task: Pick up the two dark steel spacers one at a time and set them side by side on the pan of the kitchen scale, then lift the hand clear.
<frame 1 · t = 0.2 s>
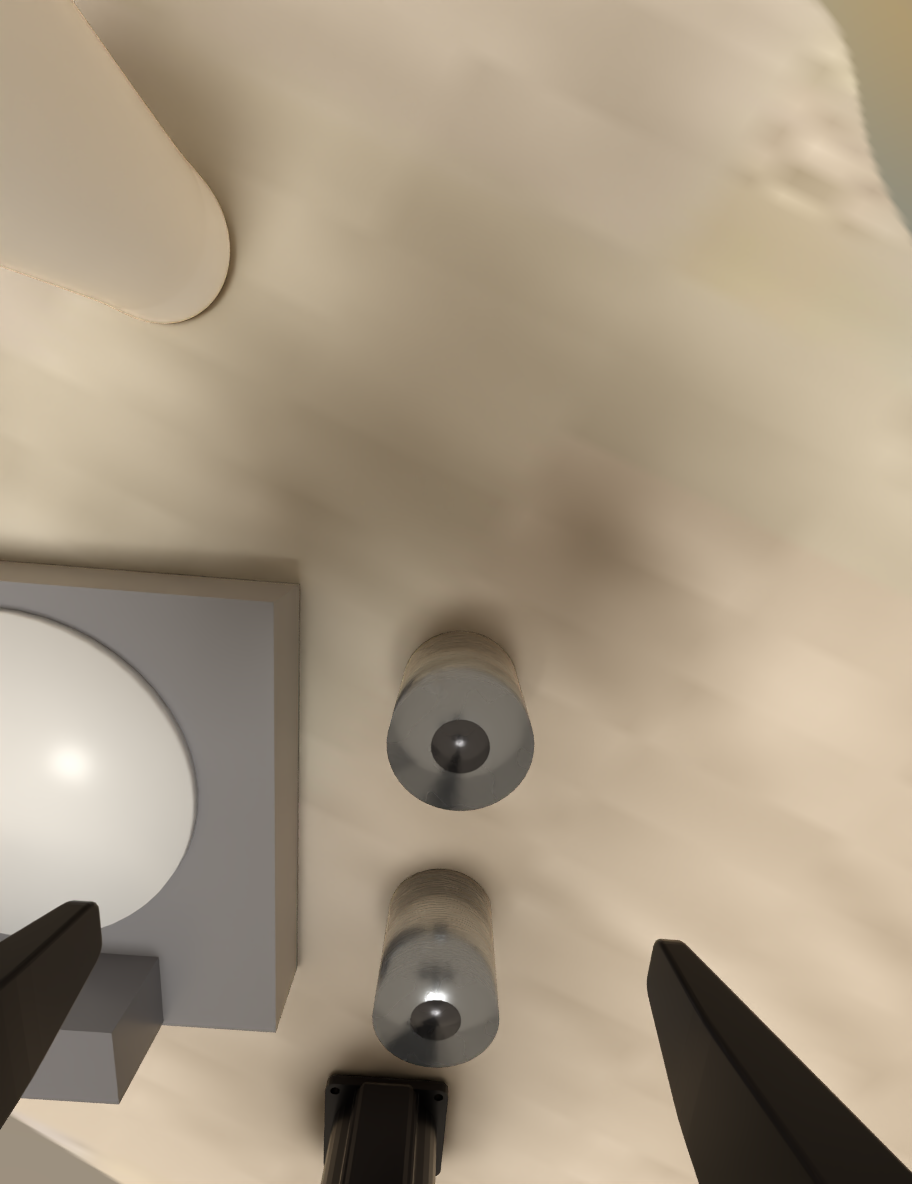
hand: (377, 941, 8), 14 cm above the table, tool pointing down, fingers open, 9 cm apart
spacer b: (440, 911, 25), on the table
spacer a: (459, 685, 22), on the table
drinking glass: (165, 249, 18), on the table
kitchen scale: (79, 779, 23), on the table
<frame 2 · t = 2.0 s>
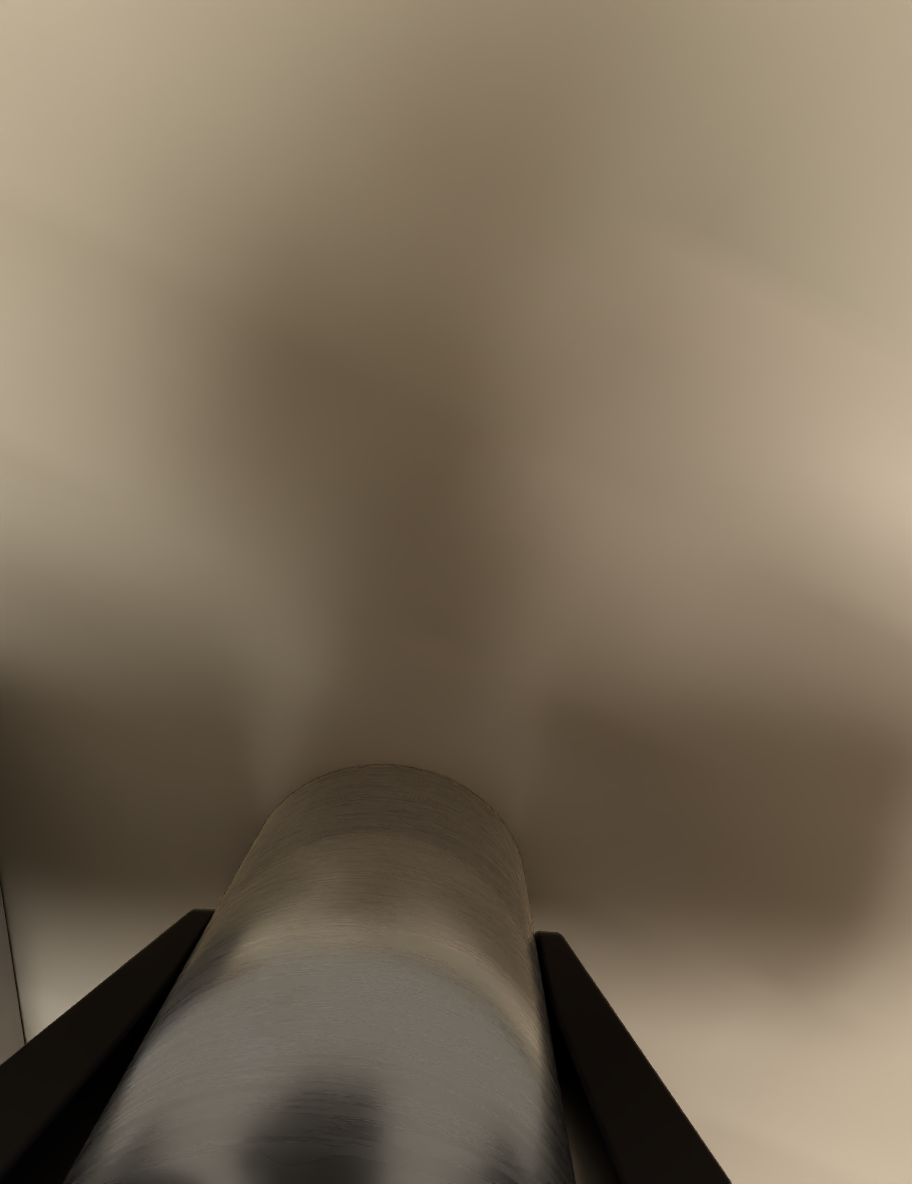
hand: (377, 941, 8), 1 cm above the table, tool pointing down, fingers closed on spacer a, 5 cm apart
spacer a: (386, 888, 9), on the table, touching gripper
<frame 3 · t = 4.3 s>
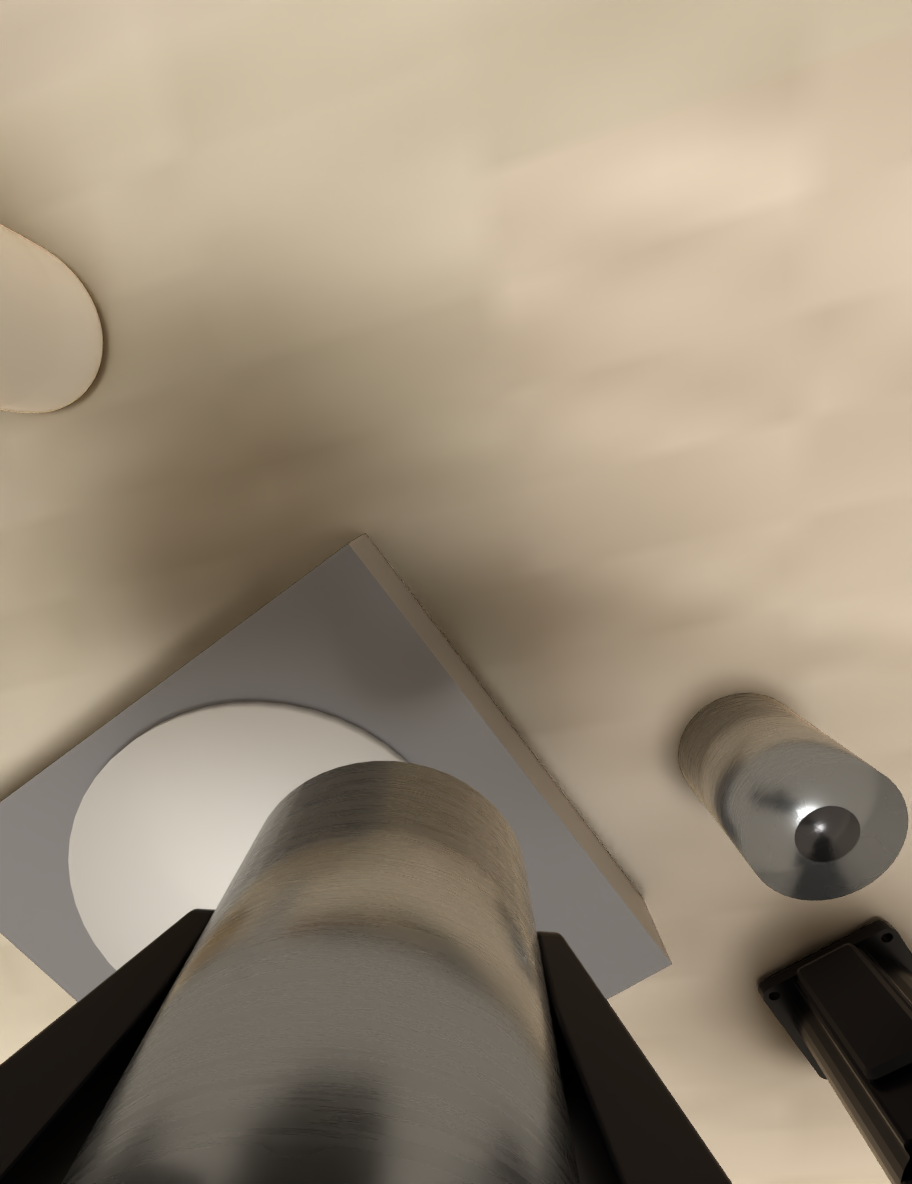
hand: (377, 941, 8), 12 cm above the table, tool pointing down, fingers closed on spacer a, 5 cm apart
spacer b: (739, 749, 21), on the table
spacer a: (388, 884, 9), point 11 cm above the table, touching gripper
drinking glass: (39, 335, 17), on the table
kitchen scale: (326, 855, 22), on the table
when the fingers open (6 cm above the table, at t = 6.5 s): spacer a drops 1 cm, resting on kitchen scale.
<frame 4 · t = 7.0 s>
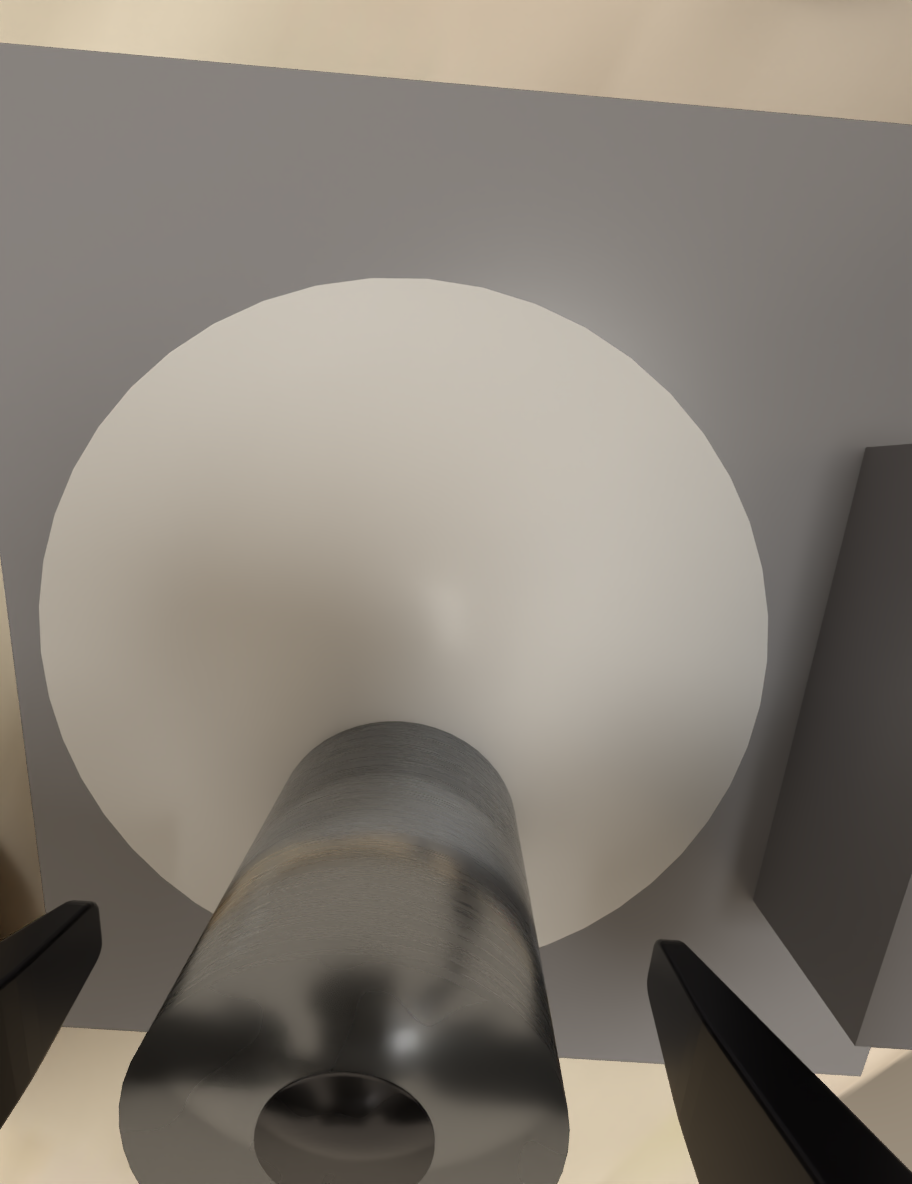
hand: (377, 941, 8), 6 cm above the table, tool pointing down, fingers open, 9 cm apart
spacer a: (396, 830, 10), point 4 cm above the table, touching kitchen scale
kitchen scale: (493, 632, 13), on the table
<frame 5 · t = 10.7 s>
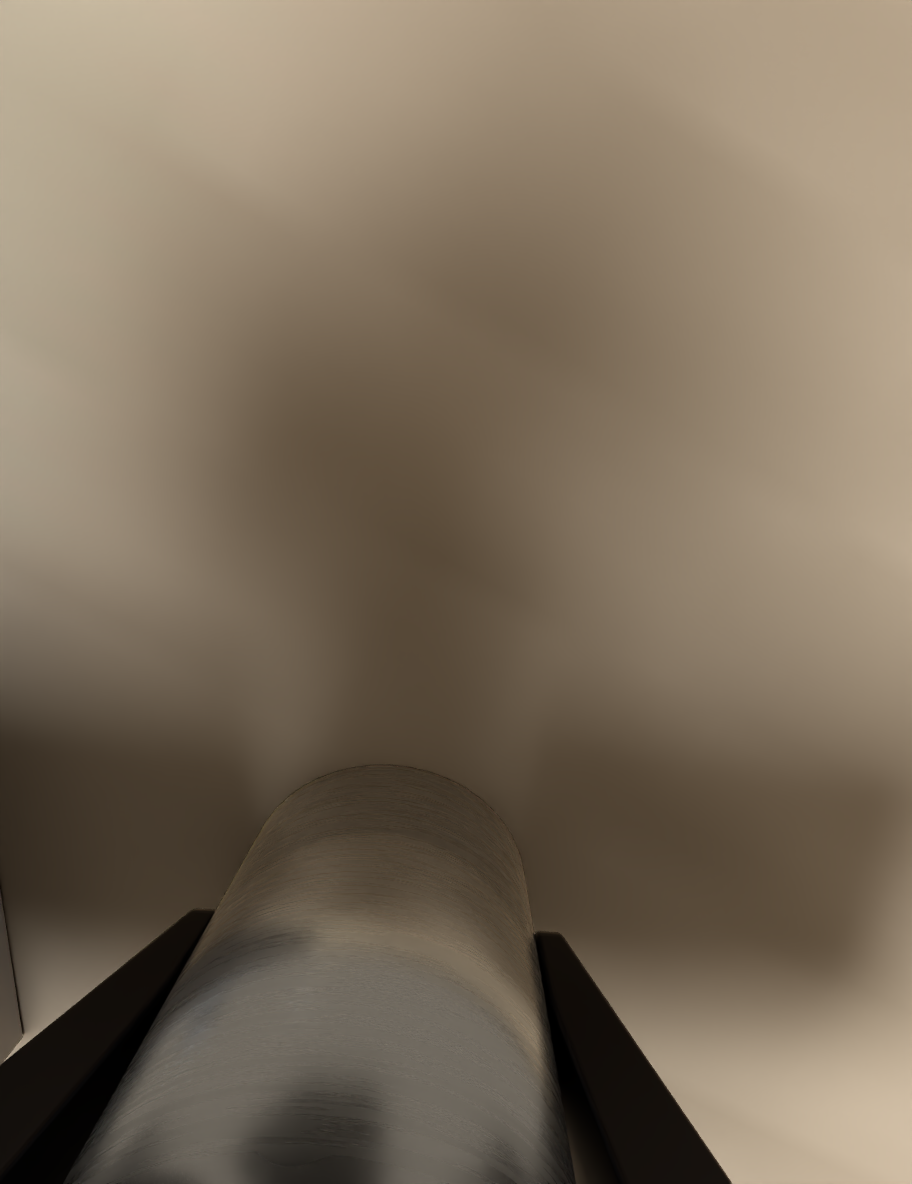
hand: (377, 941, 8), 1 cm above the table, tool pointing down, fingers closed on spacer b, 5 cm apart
spacer b: (386, 888, 9), on the table, touching gripper
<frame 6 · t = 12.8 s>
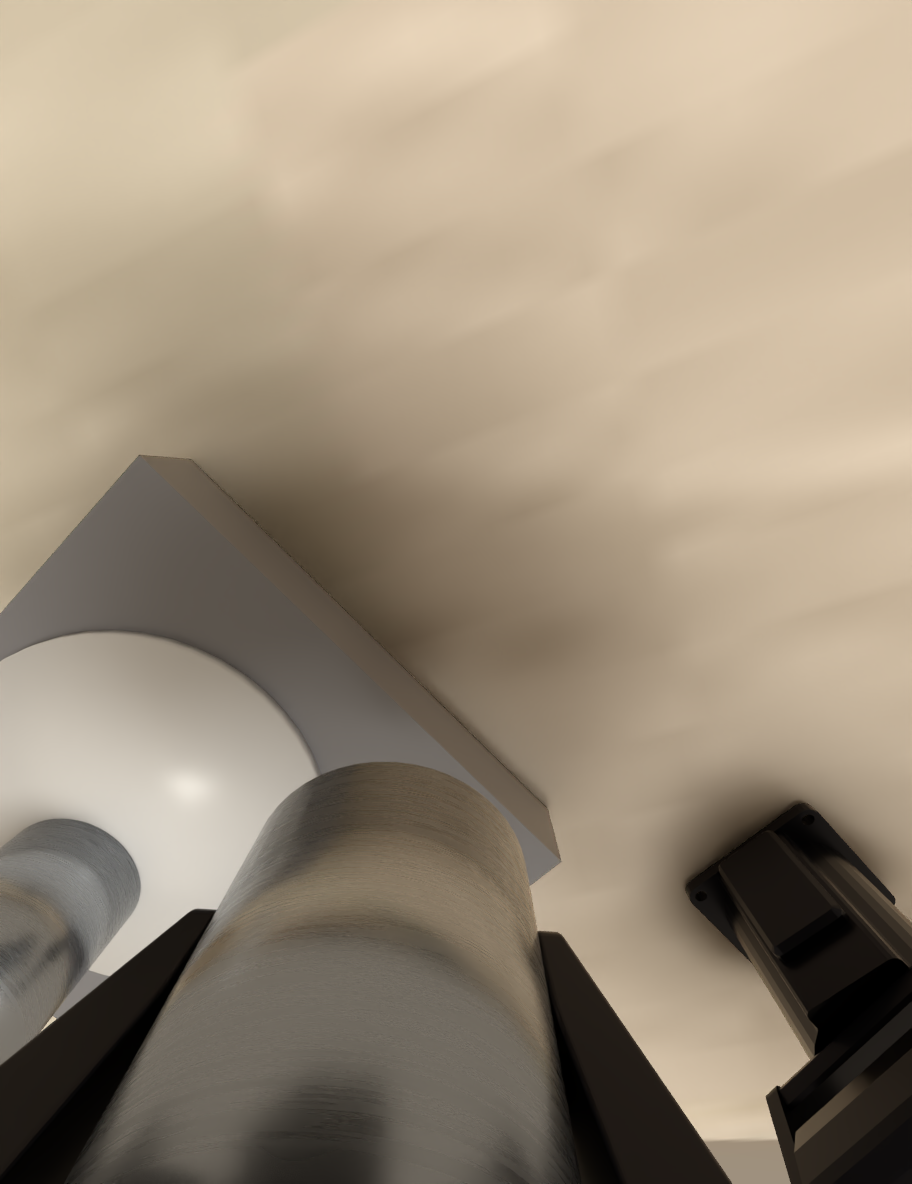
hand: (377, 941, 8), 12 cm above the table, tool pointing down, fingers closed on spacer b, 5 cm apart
spacer b: (389, 885, 9), point 11 cm above the table, touching gripper
spacer a: (72, 878, 18), point 4 cm above the table, touching kitchen scale
kitchen scale: (219, 798, 21), on the table
when the fingers open (6 cm above the table, at t = 14.8 s): spacer b drops 1 cm, resting on kitchen scale.
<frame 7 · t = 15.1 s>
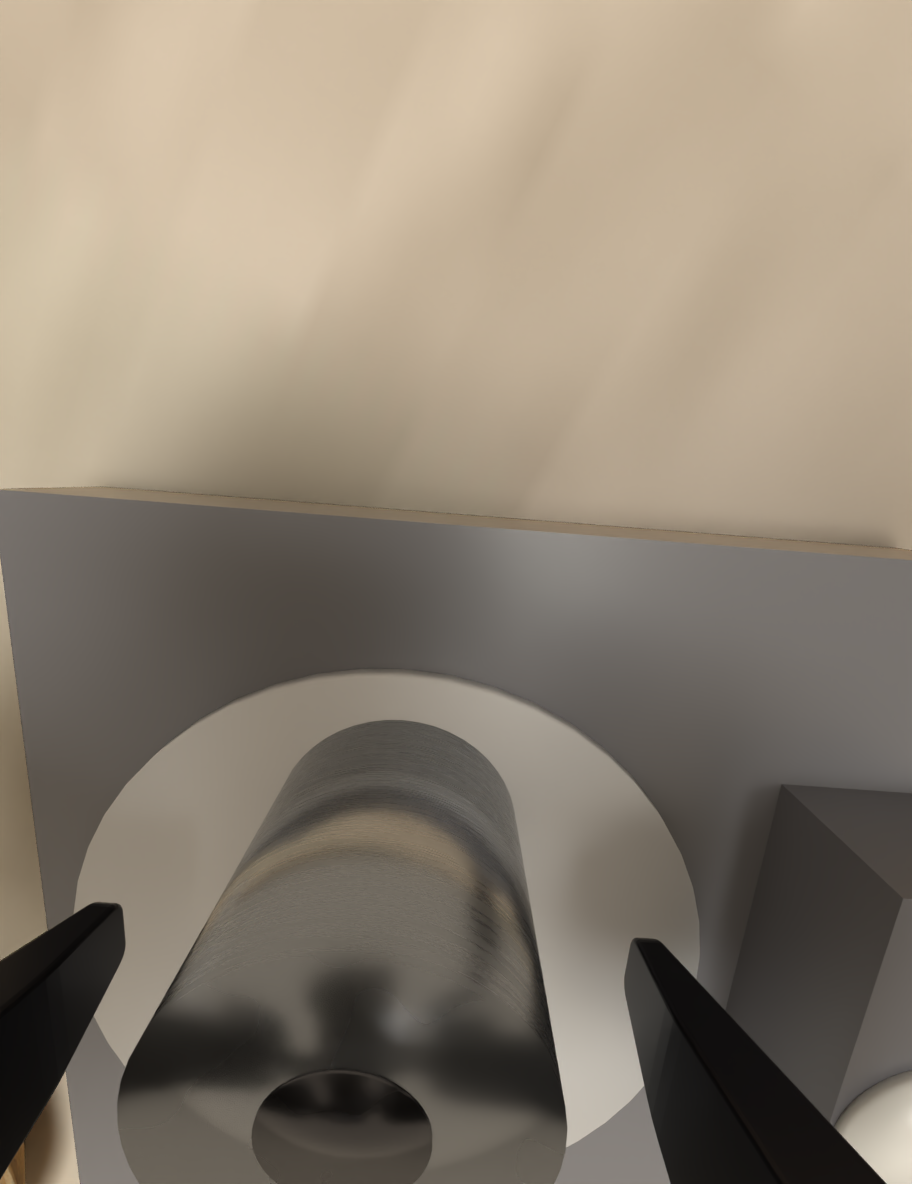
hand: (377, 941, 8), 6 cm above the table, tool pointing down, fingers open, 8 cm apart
spacer b: (396, 829, 10), point 3 cm above the table, touching kitchen scale
kitchen scale: (471, 859, 15), on the table
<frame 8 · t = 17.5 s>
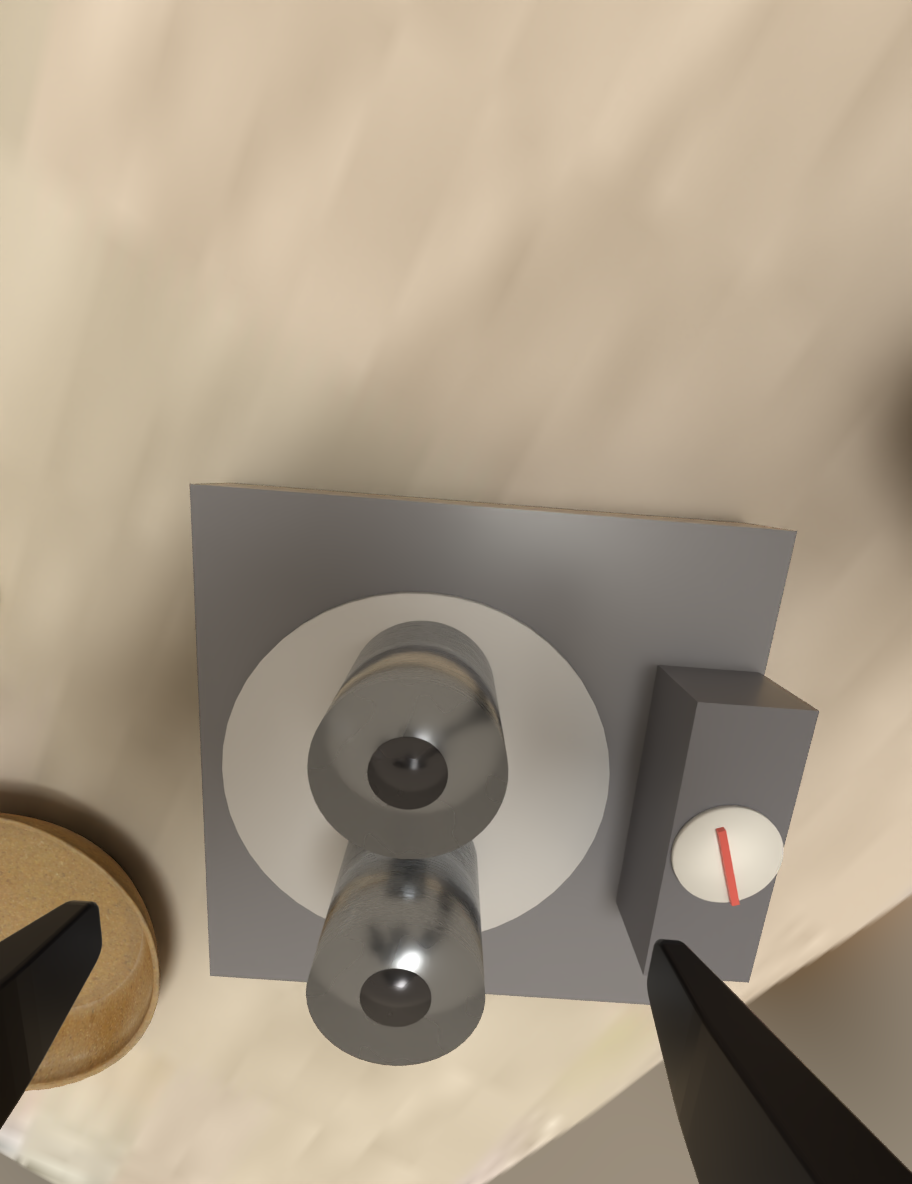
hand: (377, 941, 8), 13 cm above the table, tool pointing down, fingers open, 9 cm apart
spacer b: (422, 689, 17), point 3 cm above the table, touching kitchen scale
spacer a: (411, 862, 19), point 4 cm above the table, touching kitchen scale
kitchen scale: (468, 737, 21), on the table
plant saucer: (39, 908, 24), on the table
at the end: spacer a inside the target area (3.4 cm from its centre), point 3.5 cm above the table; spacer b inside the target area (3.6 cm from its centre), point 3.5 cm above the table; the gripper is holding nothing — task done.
